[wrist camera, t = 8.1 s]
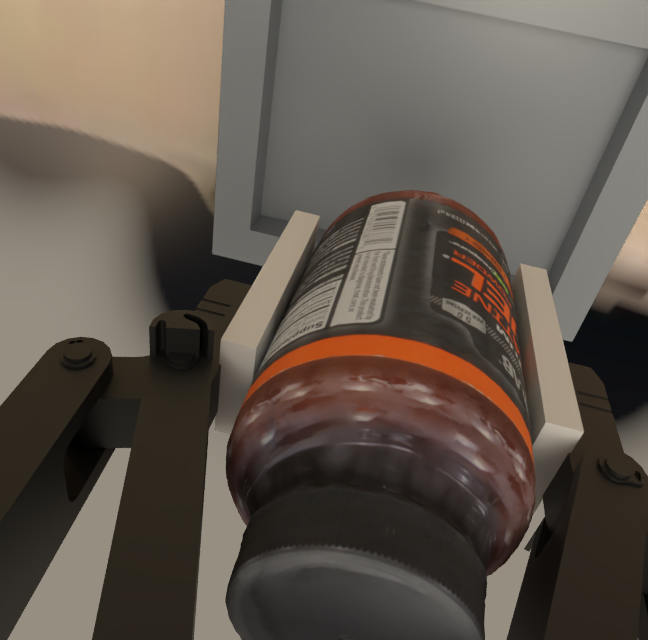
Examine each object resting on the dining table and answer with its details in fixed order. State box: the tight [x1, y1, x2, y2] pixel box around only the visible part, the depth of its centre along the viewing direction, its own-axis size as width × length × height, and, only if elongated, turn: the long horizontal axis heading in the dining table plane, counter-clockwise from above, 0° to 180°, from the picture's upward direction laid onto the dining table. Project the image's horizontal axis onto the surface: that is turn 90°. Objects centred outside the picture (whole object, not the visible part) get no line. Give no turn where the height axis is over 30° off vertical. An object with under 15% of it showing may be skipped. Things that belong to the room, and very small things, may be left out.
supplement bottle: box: [226, 190, 536, 640], centre depth 13 cm, size 6×6×11 cm
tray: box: [212, 0, 648, 342], centre depth 28 cm, size 20×16×3 cm
